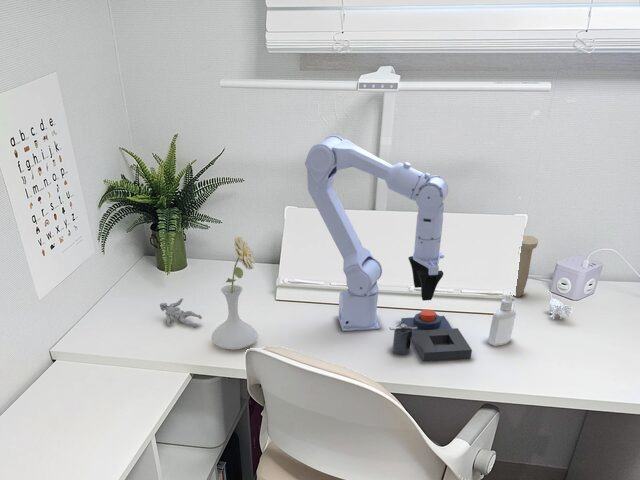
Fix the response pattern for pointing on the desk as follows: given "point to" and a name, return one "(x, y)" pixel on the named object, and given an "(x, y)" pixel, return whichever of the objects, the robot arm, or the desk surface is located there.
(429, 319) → the stop button
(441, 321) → the switch box
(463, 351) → the square hole block
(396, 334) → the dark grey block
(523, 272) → the handle
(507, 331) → the eye dropper bottle
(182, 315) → the soldier figure
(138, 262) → the desk surface
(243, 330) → the flower in vase
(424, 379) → the desk surface
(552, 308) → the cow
